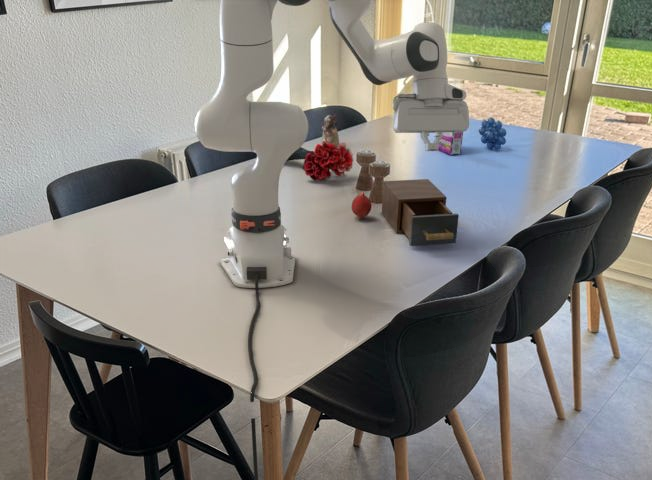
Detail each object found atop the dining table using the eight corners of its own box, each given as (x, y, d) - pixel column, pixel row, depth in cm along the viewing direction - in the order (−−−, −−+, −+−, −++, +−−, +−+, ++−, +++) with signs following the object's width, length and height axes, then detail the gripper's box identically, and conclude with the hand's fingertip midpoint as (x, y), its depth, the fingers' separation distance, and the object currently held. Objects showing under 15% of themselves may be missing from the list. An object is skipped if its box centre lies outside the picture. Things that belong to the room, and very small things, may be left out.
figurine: (318, 144, 277) (318, 113, 270) (335, 143, 279) (336, 112, 272) (323, 149, 271) (323, 117, 265) (341, 148, 273) (341, 116, 267)
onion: (347, 219, 205) (348, 193, 201) (356, 213, 209) (357, 187, 205) (365, 223, 203) (366, 196, 199) (374, 217, 207) (375, 190, 203)
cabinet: (443, 230, 198) (446, 196, 193) (396, 233, 196) (398, 199, 191) (425, 210, 213) (428, 178, 207) (381, 213, 210) (383, 181, 205)
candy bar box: (461, 154, 267) (466, 110, 259) (450, 155, 265) (455, 111, 257) (445, 147, 276) (449, 104, 267) (435, 148, 274) (438, 105, 266)
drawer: (462, 250, 184) (465, 221, 180) (416, 253, 182) (418, 224, 178) (437, 222, 201) (439, 196, 197) (395, 225, 199) (396, 198, 195)
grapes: (472, 149, 274) (475, 117, 268) (479, 145, 279) (483, 114, 273) (499, 154, 268) (504, 121, 262) (507, 150, 273) (511, 118, 267)
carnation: (277, 183, 259) (349, 198, 238) (246, 157, 244) (321, 172, 223) (294, 145, 260) (368, 157, 239) (264, 117, 245) (340, 128, 224)
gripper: (397, 91, 170) (399, 150, 173) (471, 91, 177) (472, 148, 179) (387, 96, 176) (389, 152, 179) (459, 96, 183) (460, 151, 185)
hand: (431, 150), depth 179 cm, fingers closed
